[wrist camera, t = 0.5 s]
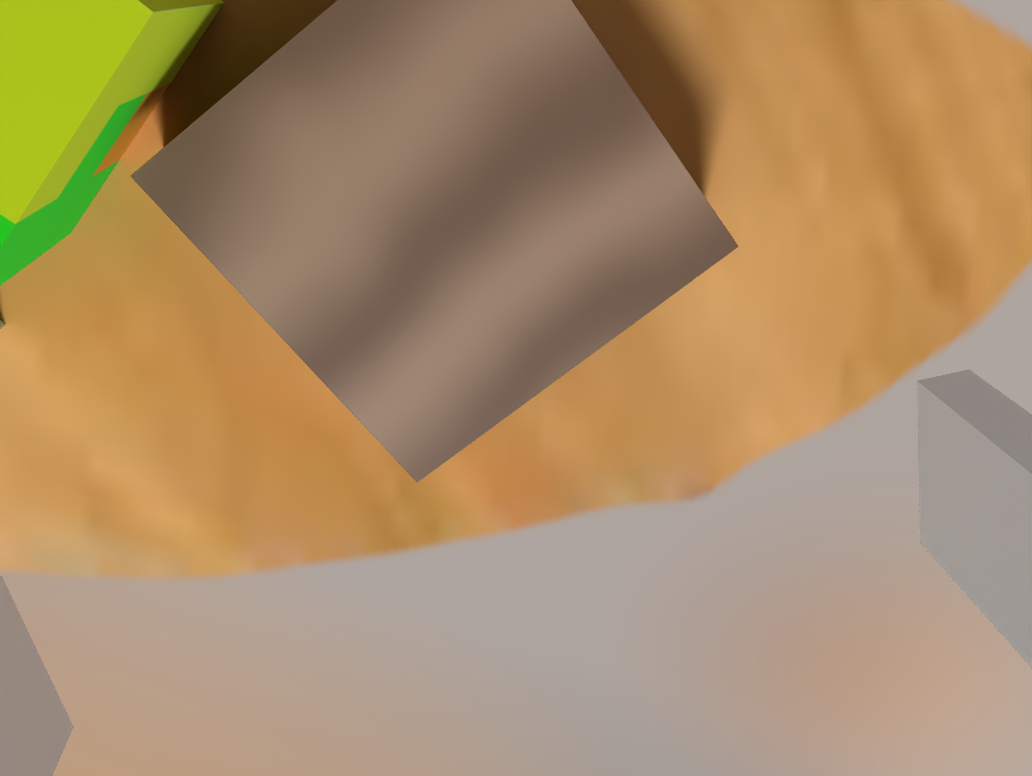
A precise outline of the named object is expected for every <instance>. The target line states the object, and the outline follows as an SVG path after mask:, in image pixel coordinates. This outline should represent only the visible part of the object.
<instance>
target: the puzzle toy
mask: <svg viewBox="0 0 1032 776" xmlns="http://www.w3.org/2000/svg"><path fill="white" fill-rule="evenodd" d="M223 4H224V2H223V1H222V0H0V285H2V284H3V283H4V282H6V281H7V280H8V279H10V278H11V277H12V276H14V275H15V274H16V273H18V272H19V271H20V270H22V269H23V268H24V267H26V266H27V265H29V264H30V263H31V262H33V261H34V260H35V259H37V258H38V257H39V256H41V255H42V254H43V253H45V252H46V251H47V250H49V249H50V248H51V247H53V246H54V245H55V244H57V243H58V242H59V241H61V240H62V239H63V238H65V237H66V236H68V235H69V234H70V233H71V232H72V230H73V229H74V227H75V226H76V224H77V223H78V221H79V220H80V218H81V217H82V215H83V214H84V212H85V211H86V209H87V208H88V206H89V205H90V203H91V202H92V200H93V199H94V197H95V196H96V194H97V193H98V191H99V190H100V188H101V187H102V185H103V184H104V182H105V181H106V179H107V178H108V176H109V175H110V173H111V172H112V170H113V169H114V167H115V166H116V164H117V163H118V161H119V160H120V158H121V157H122V155H123V154H124V152H125V151H126V149H127V148H128V146H129V145H130V143H131V142H132V140H133V139H134V137H135V136H136V134H137V133H138V131H139V130H140V128H141V127H142V125H143V124H144V122H145V121H146V119H147V118H148V116H149V115H150V113H151V112H152V110H153V109H154V107H155V106H156V104H157V103H158V101H159V100H160V98H161V97H162V95H163V94H164V92H165V91H166V89H167V88H168V86H169V85H170V83H171V82H172V81H173V79H174V78H175V76H176V75H177V73H178V72H179V70H180V69H181V67H182V66H183V64H184V63H185V61H186V60H187V58H188V57H189V55H190V54H191V52H192V51H193V49H194V48H195V46H196V45H197V43H198V42H199V40H200V39H201V37H202V36H203V34H204V33H205V31H206V30H207V28H208V27H209V25H210V24H211V22H212V21H213V19H214V18H215V16H216V15H217V13H218V12H219V10H220V9H221V7H222V6H223Z"/></svg>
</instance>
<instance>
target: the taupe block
mask: <svg viewBox="0 0 1032 776" xmlns="http://www.w3.org/2000/svg"><path fill="white" fill-rule="evenodd" d="M131 177H132V178H133V179H134V180H135V182H136V183H137V184H138V185H139V186H140V187H141V188H142V189H143V190H144V191H145V192H146V193H147V194H148V195H149V197H150V198H151V199H152V200H153V201H154V202H155V203H156V204H157V205H158V206H159V207H160V208H161V209H162V210H163V211H164V213H165V214H166V215H167V216H168V217H169V218H170V219H171V220H172V221H173V222H174V223H175V224H176V225H177V226H178V228H179V229H180V230H181V231H182V232H183V233H184V234H185V235H186V236H187V237H188V238H189V239H190V240H191V241H192V242H193V244H194V245H195V246H196V247H197V248H198V249H199V250H200V251H201V252H202V253H203V254H204V255H205V256H206V257H207V259H208V260H209V261H210V262H211V263H212V264H213V265H214V266H215V267H216V268H217V269H218V270H219V271H220V272H221V274H222V275H223V276H224V277H225V278H226V279H227V280H228V281H229V282H230V283H231V284H232V285H233V286H234V287H235V288H236V290H237V291H238V292H239V293H240V294H241V295H242V296H243V297H244V298H245V299H246V300H247V301H248V302H249V303H250V305H251V306H252V307H253V308H254V309H255V310H256V311H257V312H258V313H259V314H260V315H261V316H262V317H263V318H264V319H265V321H266V322H267V323H268V324H269V325H270V326H271V327H272V328H273V329H274V330H275V331H276V332H277V333H278V334H279V336H280V337H281V338H282V339H283V340H284V341H285V342H286V343H287V344H288V345H289V346H290V347H291V348H292V349H293V351H294V352H295V353H296V354H297V355H298V356H299V357H300V358H301V359H302V360H303V361H304V362H305V363H306V364H307V365H308V367H309V368H310V369H311V370H312V371H313V372H314V373H315V374H316V375H317V376H318V377H319V378H320V379H321V380H322V382H323V383H324V384H325V385H326V386H327V387H328V388H329V389H330V390H331V391H332V392H333V393H334V394H335V395H336V396H337V398H338V399H339V400H340V401H341V402H342V403H343V404H344V405H345V406H346V407H347V408H348V409H349V410H350V411H351V413H352V414H353V415H354V416H355V417H356V418H357V419H358V420H359V421H360V422H361V423H362V424H363V425H364V426H365V428H366V429H367V430H368V431H369V432H370V433H371V434H372V435H373V436H374V437H375V438H376V439H377V440H378V441H379V442H380V444H381V445H382V446H383V447H384V448H385V449H386V450H387V451H388V452H389V453H390V454H391V455H392V456H393V457H394V459H395V460H396V461H397V462H398V463H399V464H400V465H401V466H402V467H403V468H404V469H405V470H406V471H407V472H408V473H409V475H410V476H411V477H412V478H413V479H414V480H415V481H416V482H418V481H420V480H421V479H423V478H424V477H425V476H427V475H428V474H429V473H431V472H432V471H433V470H435V469H436V468H437V467H439V466H440V465H442V464H443V463H444V462H446V461H447V460H448V459H450V458H451V457H452V456H454V455H455V454H457V453H458V452H459V451H461V450H462V449H463V448H465V447H466V446H467V445H469V444H470V443H472V442H473V441H474V440H476V439H477V438H478V437H480V436H481V435H482V434H484V433H485V432H487V431H488V430H489V429H491V428H492V427H493V426H495V425H496V424H497V423H499V422H500V421H502V420H503V419H504V418H506V417H507V416H508V415H510V414H511V413H512V412H514V411H515V410H516V409H518V408H519V407H521V406H522V405H523V404H525V403H526V402H527V401H529V400H530V399H531V398H533V397H534V396H536V395H537V394H538V393H540V392H541V391H542V390H544V389H545V388H546V387H548V386H549V385H551V384H552V383H553V382H555V381H556V380H557V379H559V378H560V377H561V376H563V375H564V374H566V373H567V372H568V371H570V370H571V369H572V368H574V367H575V366H576V365H578V364H579V363H581V362H582V361H583V360H585V359H586V358H587V357H589V356H590V355H591V354H593V353H594V352H596V351H597V350H598V349H600V348H601V347H602V346H604V345H605V344H606V343H608V342H609V341H610V340H612V339H613V338H615V337H616V336H617V335H619V334H620V333H621V332H623V331H624V330H625V329H627V328H628V327H630V326H631V325H632V324H634V323H635V322H636V321H638V320H639V319H640V318H642V317H643V316H645V315H646V314H647V313H649V312H650V311H651V310H653V309H654V308H655V307H657V306H658V305H660V304H661V303H662V302H664V301H665V300H666V299H668V298H669V297H670V296H672V295H673V294H675V293H676V292H677V291H679V290H680V289H681V288H683V287H684V286H685V285H687V284H688V283H689V282H691V281H692V280H694V279H695V278H696V277H698V276H699V275H700V274H702V273H703V272H704V271H706V270H707V269H709V268H710V267H711V266H713V265H714V264H715V263H717V262H718V261H719V260H721V259H722V258H724V257H725V256H726V255H728V254H729V253H730V252H732V251H733V250H734V249H736V248H737V247H738V245H737V244H736V242H735V241H734V239H733V238H732V236H731V235H730V233H729V232H728V230H727V229H726V227H725V226H724V224H723V223H722V221H721V220H720V219H719V217H718V216H717V214H716V213H715V211H714V210H713V208H712V207H711V205H710V204H709V202H708V201H707V199H706V198H705V196H704V195H703V193H702V192H701V191H700V189H699V188H698V186H697V185H696V183H695V182H694V180H693V179H692V177H691V176H690V174H689V173H688V171H687V170H686V168H685V167H684V165H683V164H682V163H681V161H680V160H679V158H678V157H677V155H676V154H675V152H674V151H673V149H672V148H671V146H670V145H669V143H668V142H667V140H666V139H665V137H664V136H663V135H662V133H661V132H660V130H659V129H658V127H657V126H656V124H655V123H654V121H653V120H652V118H651V117H650V115H649V114H648V112H647V111H646V109H645V108H644V107H643V105H642V104H641V102H640V101H639V99H638V98H637V96H636V95H635V93H634V92H633V90H632V89H631V87H630V86H629V84H628V83H627V81H626V80H625V79H624V77H623V76H622V74H621V73H620V71H619V70H618V68H617V67H616V65H615V64H614V62H613V61H612V59H611V58H610V56H609V55H608V53H607V52H606V51H605V49H604V48H603V46H602V45H601V43H600V42H599V40H598V39H597V37H596V36H595V34H594V33H593V31H592V30H591V28H590V27H589V25H588V24H587V23H586V21H585V20H584V18H583V17H582V15H581V14H580V12H579V11H578V9H577V8H576V6H575V5H574V3H573V2H572V0H337V1H336V2H335V3H334V4H332V5H331V6H330V7H329V8H328V9H326V10H325V11H324V12H323V13H322V14H321V15H319V16H318V17H317V18H316V19H315V20H314V21H312V22H311V23H310V24H309V25H308V26H306V27H305V28H304V29H303V30H302V31H301V32H299V33H298V34H297V35H296V36H295V37H293V38H292V39H291V40H290V41H289V42H288V43H286V44H285V45H284V46H283V47H282V48H281V49H279V50H278V51H277V52H276V53H275V54H273V55H272V56H271V57H270V58H269V59H268V60H266V61H265V62H264V63H263V64H262V65H260V66H259V67H258V68H257V69H256V70H255V71H253V72H252V73H251V74H250V75H249V76H248V77H246V78H245V79H244V80H243V81H242V82H240V83H239V84H238V85H237V86H236V87H235V88H233V89H232V90H231V91H230V92H229V93H227V94H226V95H225V96H224V97H223V98H222V99H220V100H219V101H218V102H217V103H216V104H215V105H213V106H212V107H211V108H210V109H209V110H207V111H206V112H205V113H204V114H203V115H202V116H200V117H199V118H198V119H197V120H196V121H194V122H193V123H192V124H191V125H190V126H189V127H187V128H186V129H185V130H184V131H183V132H182V133H180V134H179V135H178V136H177V137H176V138H174V139H173V140H172V141H171V142H170V143H169V144H167V145H166V146H165V147H164V148H163V149H161V150H160V151H159V152H158V153H157V154H156V155H154V156H153V157H152V158H151V159H150V160H149V161H147V162H146V163H145V164H144V165H143V166H141V167H140V168H139V169H138V170H137V171H136V172H134V173H133V174H132V175H131Z"/></svg>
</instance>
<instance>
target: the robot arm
mask: <svg viewBox="0 0 1032 776" xmlns="http://www.w3.org/2000/svg"><path fill="white" fill-rule="evenodd" d="M917 406H918V457H919V458H918V462H919V513H920V543H921V544H922V546H923V547H924V548H925V549H926V550H927V551H928V552H929V553H930V554H931V556H932V557H933V558H934V559H935V560H936V561H937V562H938V563H939V565H940V566H941V567H942V568H943V569H944V570H945V571H946V572H947V574H948V575H949V576H950V577H951V578H952V579H953V580H954V581H955V582H956V584H957V585H958V586H959V587H960V588H961V589H962V590H963V591H964V593H965V594H966V595H967V596H968V597H969V598H970V599H971V600H972V602H973V603H974V604H975V605H976V606H977V607H978V608H979V609H980V611H981V612H982V613H983V614H984V615H985V616H986V617H987V618H988V619H989V621H990V622H991V623H992V624H993V625H994V626H995V627H996V629H997V630H998V631H999V632H1000V633H1001V634H1002V635H1003V636H1004V637H1005V639H1006V640H1007V641H1008V642H1009V643H1010V644H1011V645H1012V647H1013V648H1014V649H1015V650H1016V651H1017V652H1018V653H1019V654H1020V655H1021V656H1022V658H1023V659H1024V660H1025V661H1026V662H1027V663H1028V664H1029V665H1030V667H1031V668H1032V415H1031V414H1030V413H1029V412H1027V411H1026V410H1025V409H1023V408H1022V407H1020V406H1019V405H1018V404H1016V403H1015V402H1013V401H1012V400H1010V399H1009V398H1008V397H1007V396H1005V395H1004V394H1002V393H1001V392H1000V391H998V390H997V389H995V388H994V387H993V386H991V385H990V384H988V383H987V382H986V381H984V380H983V379H981V378H980V377H979V376H977V375H976V374H974V373H973V372H972V371H970V370H965V371H961V372H956V373H951V374H947V375H942V376H937V377H933V378H928V379H923V380H919V381H917ZM72 729H73V725H72V723H71V721H70V719H69V716H68V714H67V712H66V710H65V708H64V706H63V704H62V702H61V700H60V697H59V695H58V693H57V691H56V689H55V687H54V685H53V683H52V681H51V679H50V676H49V674H48V672H47V670H46V668H45V666H44V664H43V662H42V660H41V658H40V656H39V653H38V651H37V649H36V647H35V645H34V643H33V641H32V639H31V637H30V634H29V632H28V630H27V628H26V626H25V624H24V622H23V620H22V618H21V616H20V614H19V611H18V609H17V607H16V605H15V603H14V601H13V599H12V597H11V595H10V593H9V590H8V588H7V586H6V584H5V582H4V580H3V578H2V576H1V577H0V776H52V775H53V772H54V770H55V768H56V766H57V763H58V761H59V759H60V756H61V754H62V752H63V749H64V747H65V745H66V743H67V740H68V738H69V735H70V733H71V731H72Z"/></svg>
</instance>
